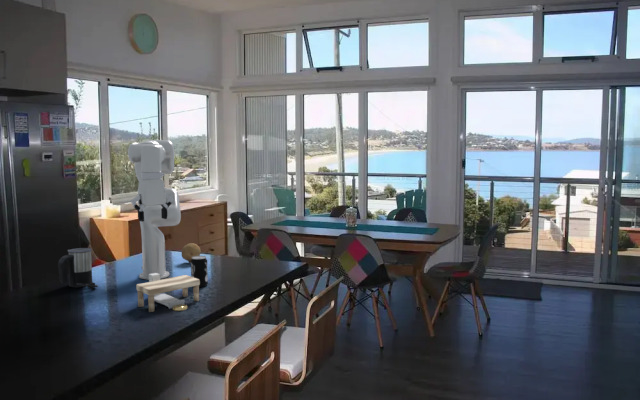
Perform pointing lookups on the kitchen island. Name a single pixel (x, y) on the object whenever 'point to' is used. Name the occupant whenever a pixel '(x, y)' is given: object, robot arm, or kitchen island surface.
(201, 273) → the beverage can
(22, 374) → the kitchen island surface
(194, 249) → the natural sponge
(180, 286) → the low shelf
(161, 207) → the robot arm
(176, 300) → the white l-shaped block
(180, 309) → the gold metal disc
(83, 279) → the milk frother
